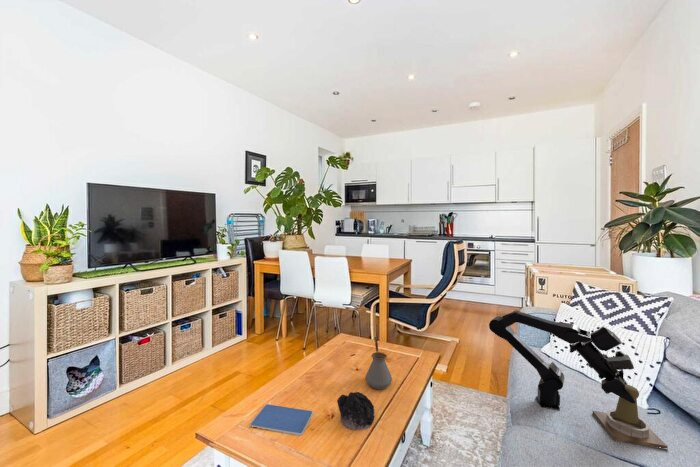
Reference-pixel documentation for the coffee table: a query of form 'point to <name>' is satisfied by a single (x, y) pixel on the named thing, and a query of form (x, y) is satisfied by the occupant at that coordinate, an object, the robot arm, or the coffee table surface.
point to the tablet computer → (282, 419)
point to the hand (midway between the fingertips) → (633, 399)
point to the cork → (628, 407)
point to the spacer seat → (628, 430)
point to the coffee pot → (378, 371)
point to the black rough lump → (356, 411)
